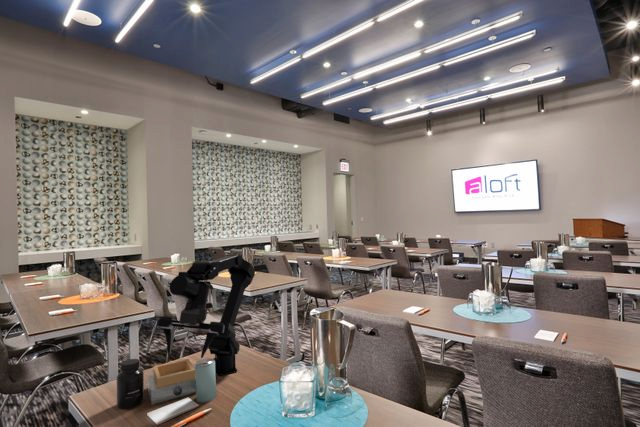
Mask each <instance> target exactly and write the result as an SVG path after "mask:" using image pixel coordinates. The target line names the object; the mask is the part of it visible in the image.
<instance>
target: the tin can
mask: <svg viewBox="0 0 640 427" xmlns="http://www.w3.org/2000/svg"><path fill="white" fill-rule="evenodd" d="M194 366H195V370H196V393H195V396H196V397H195V398H196V401H197V402H198V403H209V402H211V401H213V400H214V399H216V397H217V386H216V382H217V381H216V373H215V361H214V358H209V357H208V358H203V359H202V358H201V359H199V360H197V361H196V363H195V364H194Z"/></svg>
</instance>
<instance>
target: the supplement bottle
mask: <svg viewBox="0 0 640 427" xmlns="http://www.w3.org/2000/svg"><path fill="white" fill-rule="evenodd" d="M140 367H141V364H140V359H138V358H130V359H126V360H123V361H122V362H120V372H118V374H117V375H116V407H117V408H118V409H119V410H132V409H134V408H137V407H139V406H141V405H142V403H144V398H145V395H144V394H145V393H144V390H145V389H144V388H145V387H144V386H145V385H144V384H145V382H144V380H145V379H144V377H145V376H144V370H143V369H142V368H140Z"/></svg>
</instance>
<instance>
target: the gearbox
mask: <svg viewBox="0 0 640 427" xmlns="http://www.w3.org/2000/svg"><path fill="white" fill-rule="evenodd" d="M152 368H153V370H152V372H153V373H151V374H147V375H146V384H147V385H146V386H147V391H148V396H149V400H150V404H151V405H155V404H158V403H163V402H167V401H169V400H173V399H177V398H181V397H184V396H188V395H191V394H192V395H193V394H196V370H195V364H192V362H191V361H190V359H189V358H186V359H181V360H176V361H172V362H167V363H164V364H159V365H154V366H153V367H152Z"/></svg>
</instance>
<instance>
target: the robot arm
mask: <svg viewBox="0 0 640 427" xmlns="http://www.w3.org/2000/svg"><path fill="white" fill-rule="evenodd" d="M226 270H227V272H228V273H229V275H230V278H229V280H230V282H231V288H230V291H229V294H228V296H227V300H226V303H225V306H224V308H223V312H222V315H221V317H220V318H221V319H220V321H210V322H209V323H205V321H206V319H207V317H208V316H207V315H208V309H207V308H206V307H207V302H208V297H209V293H210V290H213V289H214V286H213V285H212V283H211V281H212V280H214V279H215V278H216V277H218V276H219V273H221V272H223V271H226ZM255 275H256V270H255V268H254V267H253V265H252V263H250V262H249V261H248V260H246V259H244V258H243V257H242V255H241V254H228V255H226V256H222V257H220V258H217V259H213V260H210V261H209V260H206V261H202V260H201V261H193V263H192V264H191V266H190V267H189V268H188V270H187V271H178V275H177V276H174V278H173V279H172V281H170V283H169V292H170V293H171V294H172V295H174V296H177V297H180V298H184V299H187V300H186V304H185V307H184V308H183V309H182V310H181V311H180V316H179V320H176V318H174V317H169V316H168V317H167V316H160V317H158V319H157V321H156V325H155V327H158V328H160V329H159V330H160V331H163V333H164V336H165V340H166V349H167V356H170V355H171V353H172V349H173V343H174V337H175V332H176V331H175V329H173V328H185V329H193V330H194V329H195V330H203V331H205V330H206V331H207V332H206V335H205V336H206V337H205V341H204V344H203V347H202V350H201V355H200V358H201V359H202V358H203V357H204V356H205V355H206V352H207V350H209V354H210V355H214V357H213V359H214V361H215V374H217V376H219V377H221V376H225V375H228V374H232V373H236V372H238V369H237V367H236V355H238V354H239V352H240V348H241V345H240V343H239V342H238V341H237V340H236V336H237V335H236V331H235V323H236V320H237V316H238V313H239V310H240V307H241V303H242V301H243V296H244V294H245V290H246V289H247V288H248V287H249V286H250V285H251V284H252V282H253V279H254V277H255ZM203 359H204V358H203Z"/></svg>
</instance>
